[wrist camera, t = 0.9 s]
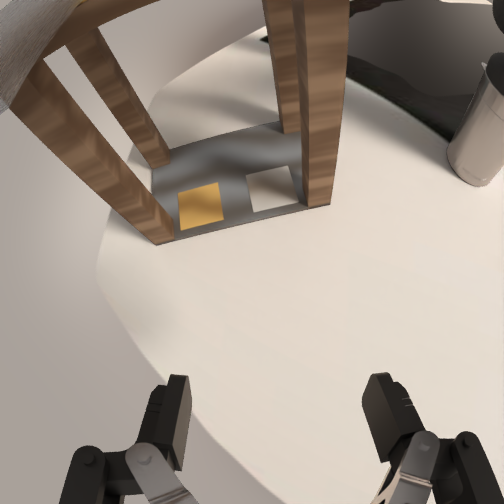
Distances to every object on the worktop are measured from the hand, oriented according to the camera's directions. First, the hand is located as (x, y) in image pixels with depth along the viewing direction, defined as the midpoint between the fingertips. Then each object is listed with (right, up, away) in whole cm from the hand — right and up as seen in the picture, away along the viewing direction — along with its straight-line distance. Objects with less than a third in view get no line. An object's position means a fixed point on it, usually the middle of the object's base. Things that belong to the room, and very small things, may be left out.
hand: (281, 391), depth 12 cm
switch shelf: (-4, +17, +30) cm, 35 cm away
